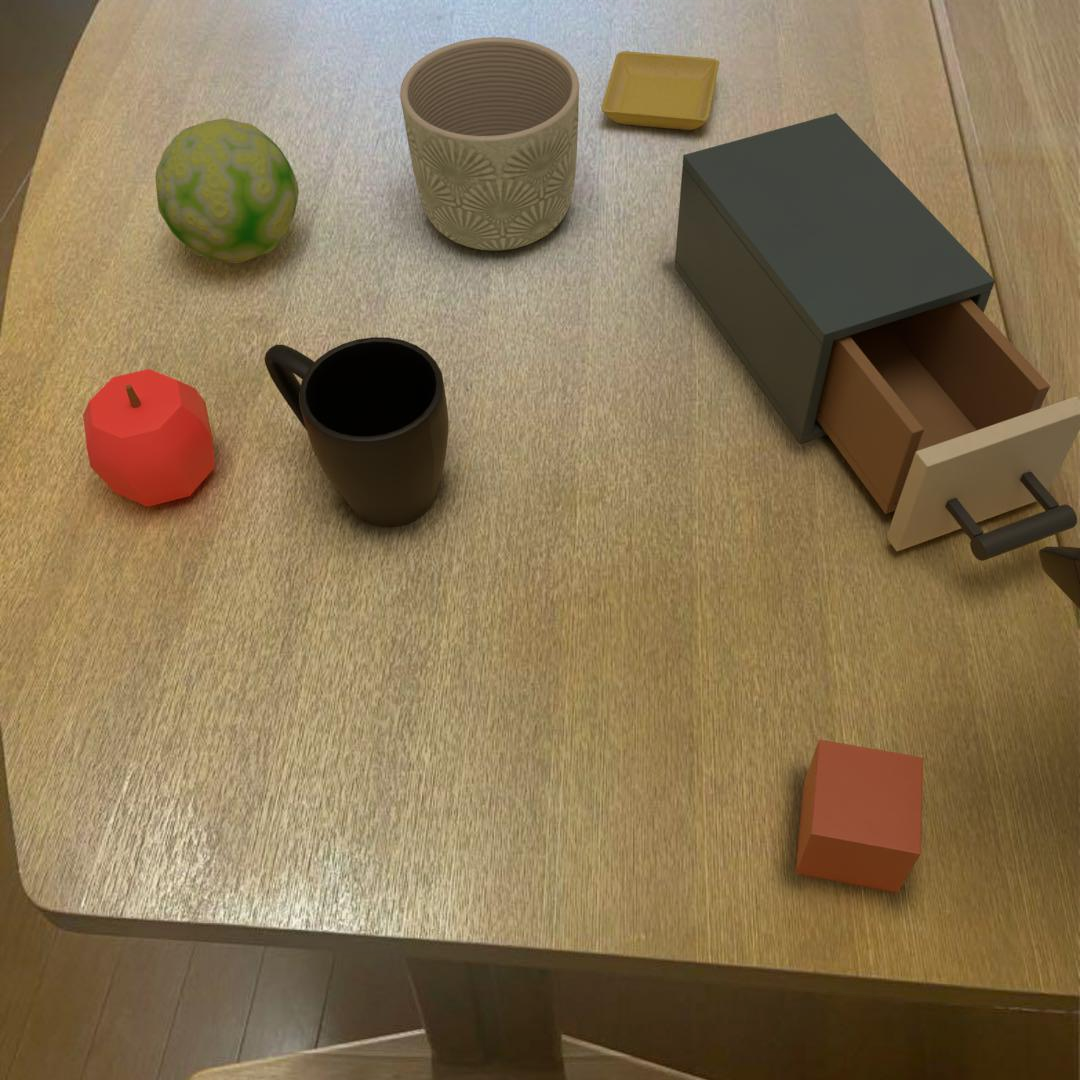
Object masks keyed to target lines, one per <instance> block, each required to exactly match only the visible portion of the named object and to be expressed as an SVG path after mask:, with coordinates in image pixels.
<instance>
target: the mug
mask: <svg viewBox="0 0 1080 1080" xmlns="http://www.w3.org/2000/svg"><path fill="white" fill-rule="evenodd" d="M264 364H265V367H266V370H267V372H268V374H269V376H270V378H271V380H272V381H273V384H274V385H275V387H276V388H277V390H278V391H279V393H280V395H281V396H282V398H283V399H284V400H285V402H286V403H287V405H288V407H289V408H290V410H291V411H292V412H293V413H294V415H295V416H296V418H297V420H298V421H299V422H300V424H301V425H302V426H303V428H304V429H305V430H306V433H307V436H308V439H309V442H310V445H311V447H312V450H313V451H314V455H315V456H316V459H317V461H318V463H319V465H320V468H322V470H323V472H324V474H325V476H326V477H327V478H328V481H330V482H331V484H332V486H333V487H334V488H335V489H336V491H337V492H338V493H339V495H340V496H341V497H342V498H343V499H344V501H345V502H346V503H347V504H348V505H349V507H350V508H351V510H352V511H353V512H354V514H355V515H356V516H357V517H358V518H360V519H361V520H362V521H364V522H366V523H368V524H370V525H374V526H378V527H382V528H390V527H391V528H394V527H399V526H401V527H402V526H405V525H407V524H410V523H413V522H415V521H416V520H418V519H419V518H421V517H422V516H423V515H424V514H426V513H427V512H428V511H429V510H430V508H431V507H432V506H433V504H434V502H435V499H436V498H437V492H438V487H439V485H440V481H441V478H442V475H443V470H444V467H445V463H446V462H445V461H446V457H447V456H446V455H447V449H448V441H449V440H448V439H449V426H450V425H449V423H450V421H449V411H448V403H447V397H446V389H445V382H444V376H443V373H442V370H441V369H440V367H439V365H438V363H437V361H436V360H435V359H434V358H433V357H432V356H431V354H429V352H427V351H426V350H424V349H423V348H421V347H420V346H419V345H417V344H414V343H411V342H409V341H406V340H403V339H398V338H392V337H387V336H386V337H382V336H381V337H379V336H371V337H366V338H365V337H364V338H359V339H354V340H351V341H348V342H344V343H341V344H339V345H337V346H336V347H334V348H331V349H329V350H327V352H325V353H323V354H322V355H321V356H319V357H318V358H317V359H316V360H315V361H314V360H313V359H311V358H310V357H308V356H307V355H305V354H303V353H302V352H301V351H299V350H297V349H294V348H292V347H291V346H288V345H285V344H275V345H273V346H271V347H269V349H268V350H267V351H266V352H265V354H264ZM297 377H298V378H300V379H301V383H300V381H299V380H298V378H297Z"/></svg>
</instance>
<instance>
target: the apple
mask: <svg viewBox="0 0 1080 1080" xmlns="http://www.w3.org/2000/svg"><path fill="white" fill-rule="evenodd" d="M208 412H209V411H208V408H207V403H206V401H205V399H203V397H202V395H201V394H200V393H199V391H198V390H197V389H196V388H195V387H193V386H192V385H190V384H187V383H186V382H183V381H180V380H178V379H176V378H173V377H170V376H169V375H166V374H162V373H160V372H158V371H155V370H152V369H150V368H146V369H143V370H138V371H134V372H129V373H125V374H121V375H116V376H112V377H111V379H109V381H108V382H107V383H105V384H104V386H102V387H101V388H100V390H99V391H97V392H96V393H95V395H94V396H93V397H91V399H89V400H88V404H87V405H86V407H85V409H84V411H83V413H82V419H83V427H84V437H85V445H86V452H87V457H88V460H89V466H90V468H91V469H92V470H93V472H94V473H95V474H97V476H98V477H99V478H100V479H101V480H102V481H103V482H104V483H105V484H106V486H108V487H109V489H110V490H112V492H113V493H115V494H117V495H120V496H122V497H124V498H126V499H128V500H131V501H133V502H136V503H137V504H139V505H142V506H145V507H146V508H147V507H152V506H157V505H160V504H164V503H167V502H171V501H172V502H173V501H176V500H179V499H180V500H181V499H183V498H187V497H191V495H192V494H193V493H194V492H195V491H196V490H197V488H198V487H199V486H200V485H201V484H202V483H203V482H204V480H205V479H206V478H207V477H208V476H209V475H210V474H211V473H212V471H213V470H214V469H215V468H216V463H215V462H216V461H215V452H214V451H215V449H214V439H213V438H214V437H213V432H212V429H211V423H210V417H209V413H208Z"/></svg>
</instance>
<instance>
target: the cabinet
mask: <svg viewBox="0 0 1080 1080" xmlns="http://www.w3.org/2000/svg"><path fill="white" fill-rule="evenodd" d="M680 179H681V180H680V192H679V193H680V194H679V205H678V218H677V230H676V241H675V242H676V243H675V254H674V255H675V256H674V257H675V258H674V269H675V271H676V272H677V273H678V274H679V276H680V277H681V279H682V280H683V281H684V283H685V285H686V286H687V287H688V289H689V290H690V291H691V292H692V295H694V297H695V298H696V300H697V301H698V303H699V304H700V306H701V307H702V308H703V310H704V311H705V313H706V314H707V315H708V317H709V318H710V319H711V321H712V323H713V324H714V325H715V327H716V328H717V330H718V331H719V332H720V334H721V335H722V336H723V338H724V340H725V341H726V342H727V344H728V345H729V347H730V348H731V349H732V351H733V352H734V354H735V355H736V356H737V358H738V359H739V361H740V362H741V364H742V365H743V367H745V369H746V370H747V372H748V373H749V375H750V376H751V378H752V379H753V380H754V382H755V383H756V385H757V386H758V387H759V389H760V390H761V392H762V393H763V394H764V396H765V397H766V399H767V400H768V401H769V403H770V404H771V406H772V407H773V409H774V410H775V411H776V413H777V414H778V415H779V417H780V418H781V420H782V421H783V423H784V424H785V425H786V427H787V428H788V430H789V431H790V432H791V434H792V435H793V436H794V438H795V440H796V441H797V442H798V444H799V445H803V444H804V443H807V442H811V441H814V440H817V439H820V438H822V437H825V436H828V435H827V433H826V432H825V431H824V429H823V428H822V427H821V425H820V424H819V423H818V421H817V420H816V414H817V410H818V405H819V401H820V397H821V392H822V388H823V384H824V379H825V375H826V371H827V366H828V362H829V358H830V353H831V349H832V345H833V341H834V340H837V339H840V338H843V337H846V336H849V335H853V334H856V333H859V332H862V331H865V330H868V329H871V328H875V327H878V326H881V325H884V324H887V323H890V322H893V321H897V320H900V319H903V318H906V317H909V316H912V315H916V314H919V313H922V312H925V311H928V310H931V309H934V308H938V307H941V306H944V305H947V304H950V303H953V302H956V301H960V300H963V299H966V298H970V299H971V300H972V301H973V302H974V303H975V304H976V305H977V306H978V308H979V309H980V310H981V311H982V312H983V313H984V312H985V310H986V307H987V304H988V302H989V299H990V296H991V294H992V291H993V288H994V285H995V283H996V279H994V278H993V276H992V275H991V274H990V273H989V272H988V271H987V270H986V269H985V268H984V267H983V266H982V265H981V264H980V263H979V262H978V261H977V259H975V257H974V256H973V255H972V254H971V253H970V252H969V251H968V250H967V249H966V248H965V247H964V246H963V245H962V243H961V242H960V241H959V240H958V239H957V238H956V237H954V235H953V234H952V233H951V232H950V231H949V230H948V229H947V228H946V227H945V225H943V223H941V222H940V220H939V219H938V218H937V217H936V216H935V215H934V214H933V213H932V212H931V211H930V210H929V209H928V208H927V207H926V205H924V203H922V202H921V200H920V199H919V198H918V197H917V196H916V195H915V194H914V193H913V192H912V190H910V189H909V188H908V186H906V184H904V182H903V181H901V179H900V178H899V177H898V176H897V175H896V174H895V173H894V172H893V170H891V169H890V168H889V167H888V165H886V163H884V161H883V160H882V159H881V158H880V157H879V156H878V155H877V154H876V153H875V152H874V151H873V150H872V149H871V147H870V146H868V145H867V144H866V142H865V141H864V140H863V139H862V138H861V137H860V136H859V135H858V134H857V133H856V132H855V131H854V130H853V129H852V127H850V125H848V124H847V122H845V120H844V119H843V118H842V117H841V115H839V114H838V113H837V112H835V113H832V114H828V115H827V114H826V115H824V116H820V117H817V118H813V119H809V120H806V121H802V122H798V123H795V124H791V125H787V126H783V127H781V128H775V129H772V130H769V131H765V132H762V133H758V134H755V135H754V134H753V135H751V136H747V137H745V138H740V139H737V140H733V141H730V142H726V143H722V144H718V145H714V146H711V147H708V148H704V149H699V150H696V151H693V152H689V153H686V154H683V156H682V168H681V178H680ZM984 314H985V313H984Z"/></svg>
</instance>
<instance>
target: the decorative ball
mask: <svg viewBox="0 0 1080 1080" xmlns="http://www.w3.org/2000/svg"><path fill="white" fill-rule="evenodd" d="M293 170H294V169H293V168H292V166H291V164H290V162H289V161H288V159H287V156H285V153H284V152H283V151H282V149H281V148H280V147H279V146H278V144H277V143H276V142H274V141H273V140H272V138H271V137H269V136H268V135H267V134H265V132H263V131H262V130H261V129H259V128H258V127H257V126H256V125H253V124H251V123H248V122H243V121H237V120H235V119H231V118H227V117H222V118H217V119H212V120H207V121H204V122H200V123H197V124H195V125H191V126H188V127H185V128H184V129H182V130H181V131H179V133H178V134H176V135H175V136H174V137H173V138H172V140H171V141H170V143H169V144H168V145H167V146H165V149H164V150H163V152H162V155H161V158H160V161H159V162H158V165H157V167H156V170H155V189H156V200H157V208H158V212H159V214H160V216H161V218H162V219H163V220H164V222H165V223H166V225H167V226H168V228H169V230H170V232H171V233H172V235H174V236H175V237H176V238H177V239H178V240H179V241H180V242H181V243H182V244H183V245H185V247H187V248H188V249H189V250H190V251H191V252H193V253H194V254H195V255H197V256H200V257H202V258H206V259H209V260H210V259H211V260H214V261H220V262H226V263H232V264H233V263H234V264H240V263H243V262H247V261H251V260H253V259H255V258H258V257H261V256H264V255H267V254H269V253H270V252H272V251H273V250H274V249H275V248H276V247H277V246H278V245H279V243H280V242H281V241H282V240H283V238H284V237H285V236H286V234H287V232H288V231H289V229H290V227H291V225H292V223H293V220H294V216H295V215H296V209H297V206H298V200H299V193H300V192H299V182H298V180H297V177H296V175H295V173H294V171H293Z"/></svg>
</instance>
